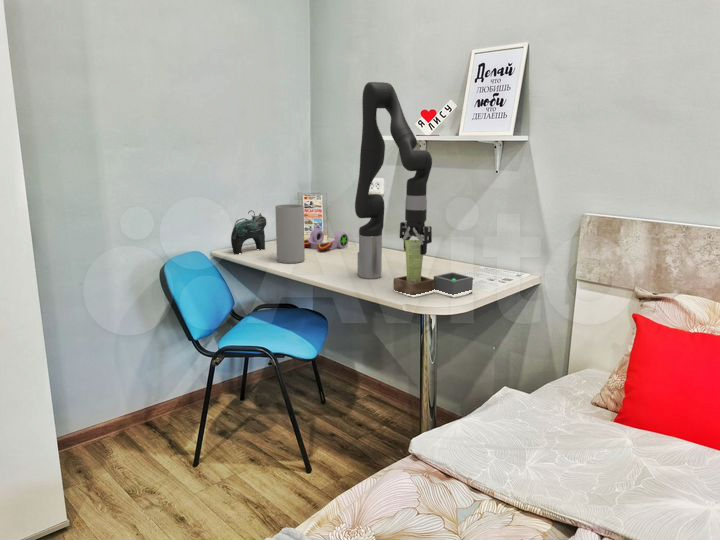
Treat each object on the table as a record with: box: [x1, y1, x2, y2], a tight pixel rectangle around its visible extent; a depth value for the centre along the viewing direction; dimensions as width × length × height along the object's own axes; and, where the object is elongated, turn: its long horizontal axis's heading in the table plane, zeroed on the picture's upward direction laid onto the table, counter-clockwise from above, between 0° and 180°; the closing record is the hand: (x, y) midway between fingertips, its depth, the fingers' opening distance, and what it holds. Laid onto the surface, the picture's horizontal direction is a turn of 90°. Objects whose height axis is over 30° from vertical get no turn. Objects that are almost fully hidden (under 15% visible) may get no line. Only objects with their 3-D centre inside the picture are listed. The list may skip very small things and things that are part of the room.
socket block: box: [433, 271, 474, 295], centre depth 205 cm, size 10×10×7 cm
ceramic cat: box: [230, 210, 267, 255], centre depth 274 cm, size 20×6×20 cm, turn 139°
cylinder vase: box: [275, 203, 306, 264], centre depth 253 cm, size 12×12×25 cm
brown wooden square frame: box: [393, 275, 435, 295], centre depth 206 cm, size 10×10×5 cm
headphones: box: [304, 228, 349, 251], centre depth 286 cm, size 20×10×20 cm
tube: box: [405, 239, 424, 283], centre depth 204 cm, size 6×5×20 cm
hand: (414, 252), depth 203 cm, fingers open, 8 cm apart
